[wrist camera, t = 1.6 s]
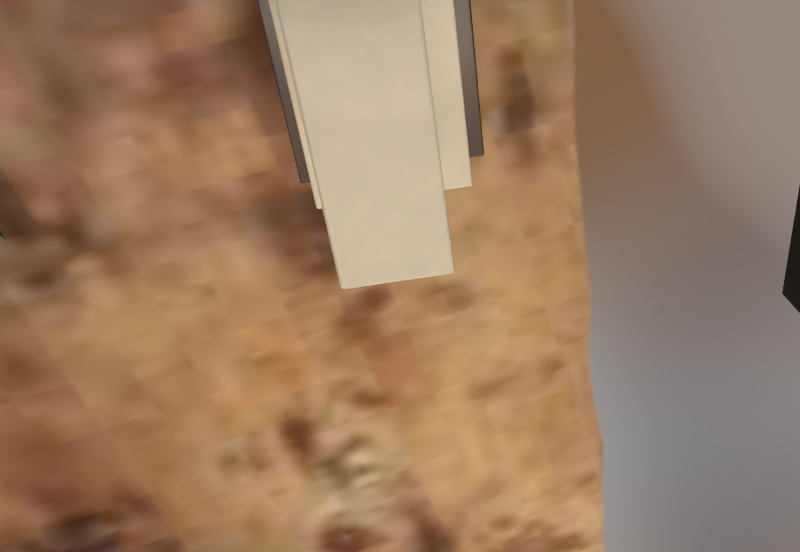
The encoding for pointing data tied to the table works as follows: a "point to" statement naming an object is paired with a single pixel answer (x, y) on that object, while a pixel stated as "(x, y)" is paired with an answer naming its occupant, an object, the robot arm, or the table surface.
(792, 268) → the robot arm
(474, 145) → the riser
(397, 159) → the eraser
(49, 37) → the table surface
